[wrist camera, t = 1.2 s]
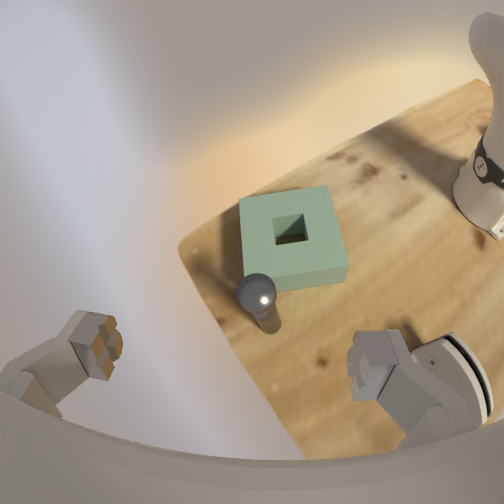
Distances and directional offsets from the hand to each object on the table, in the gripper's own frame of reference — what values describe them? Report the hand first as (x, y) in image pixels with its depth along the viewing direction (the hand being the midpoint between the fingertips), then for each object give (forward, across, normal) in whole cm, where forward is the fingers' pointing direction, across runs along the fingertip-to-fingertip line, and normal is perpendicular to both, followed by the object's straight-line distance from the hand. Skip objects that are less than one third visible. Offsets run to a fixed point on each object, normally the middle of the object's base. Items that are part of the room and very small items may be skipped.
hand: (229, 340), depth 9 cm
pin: (+27, -2, +24) cm, 36 cm away
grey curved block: (+15, -29, +28) cm, 43 cm away
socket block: (+38, -5, +16) cm, 42 cm away
